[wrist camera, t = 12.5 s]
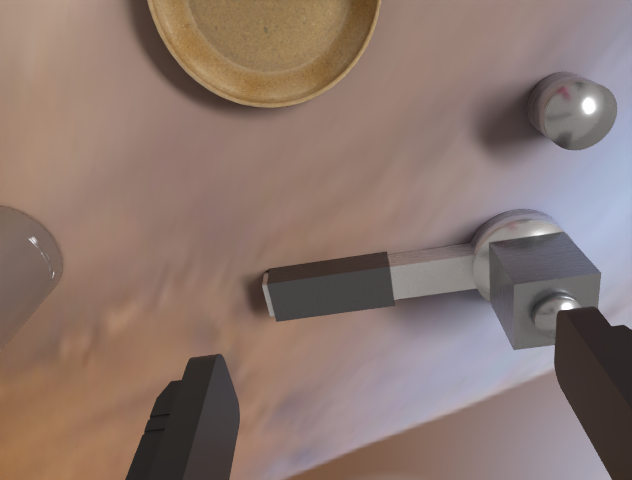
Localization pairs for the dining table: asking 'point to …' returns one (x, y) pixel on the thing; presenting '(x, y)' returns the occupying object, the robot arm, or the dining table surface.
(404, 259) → the ratchet
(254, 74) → the plant saucer
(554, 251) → the socket
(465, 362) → the dining table surface
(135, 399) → the dining table surface
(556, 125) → the socket
